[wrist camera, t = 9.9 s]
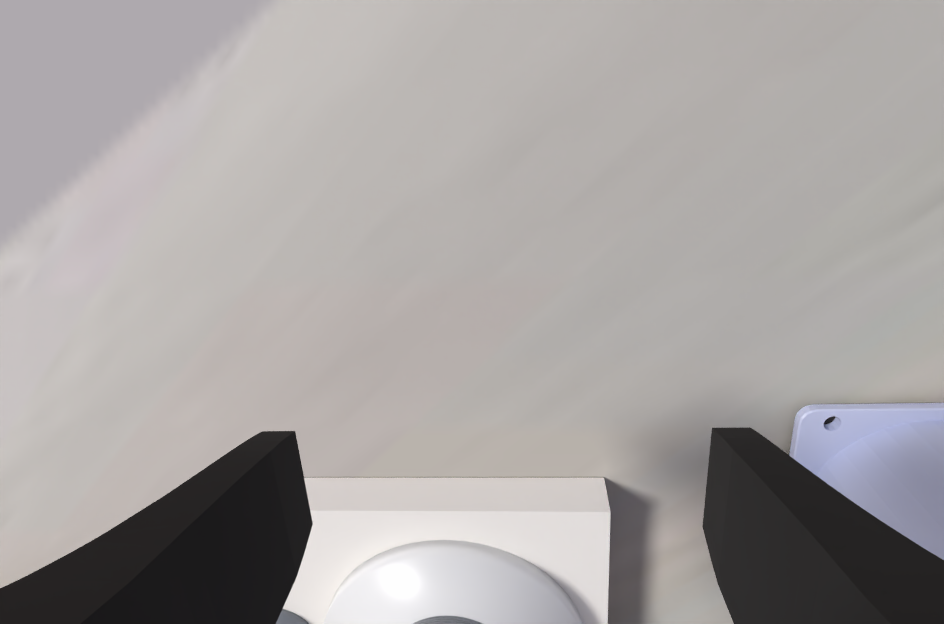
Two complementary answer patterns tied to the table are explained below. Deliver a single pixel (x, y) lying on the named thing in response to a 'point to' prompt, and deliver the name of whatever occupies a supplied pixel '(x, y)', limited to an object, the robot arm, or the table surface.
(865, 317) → the table surface
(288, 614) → the kitchen scale
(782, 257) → the table surface
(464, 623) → the cylinder
